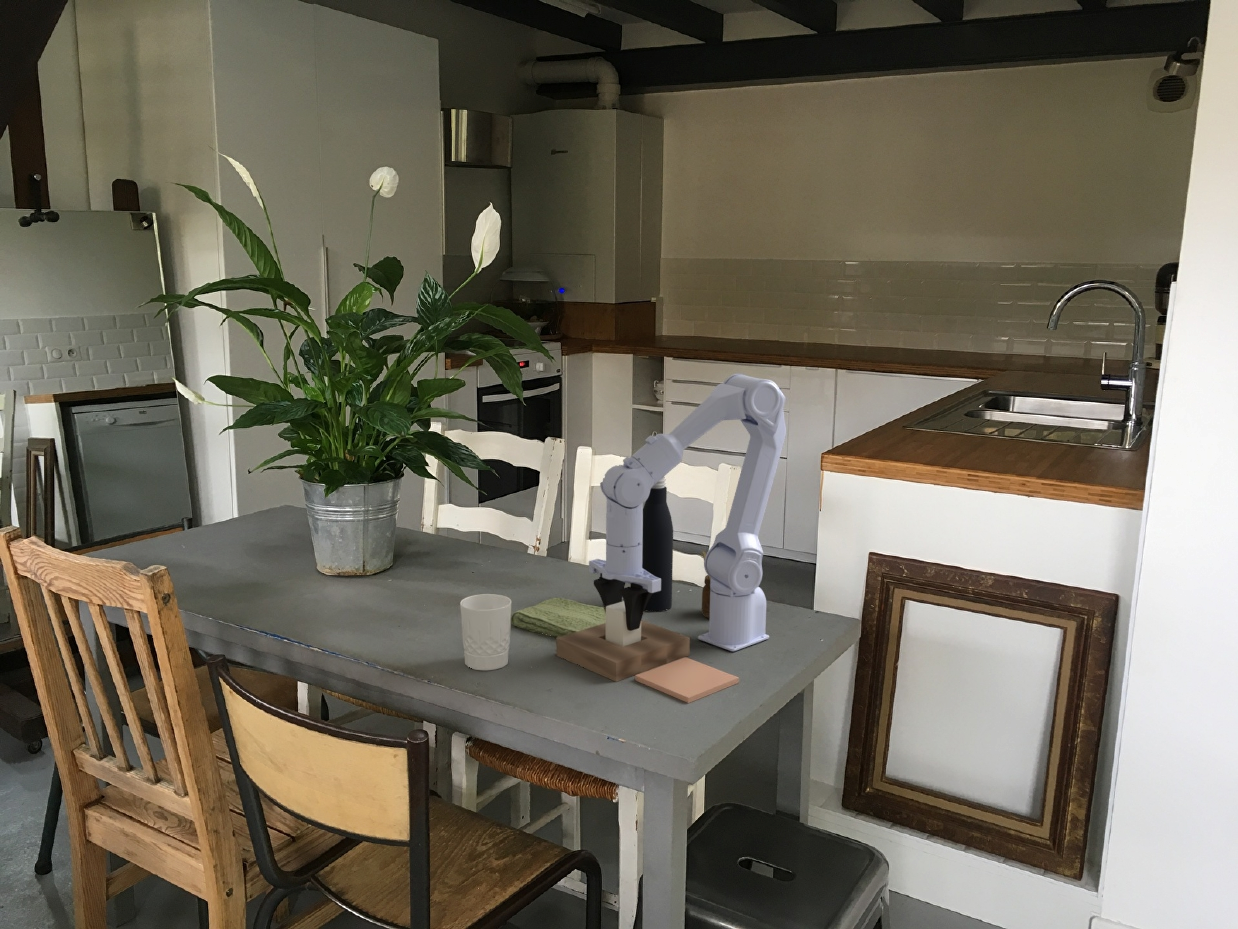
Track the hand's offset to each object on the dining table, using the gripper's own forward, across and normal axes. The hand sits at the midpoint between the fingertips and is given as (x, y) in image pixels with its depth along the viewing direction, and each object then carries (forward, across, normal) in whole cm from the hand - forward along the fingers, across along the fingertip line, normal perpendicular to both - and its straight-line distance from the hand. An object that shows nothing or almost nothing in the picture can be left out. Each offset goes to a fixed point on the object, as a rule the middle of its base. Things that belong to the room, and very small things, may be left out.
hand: (623, 625), depth 165 cm
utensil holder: (+5, -3, +26) cm, 27 cm away
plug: (+4, 0, 0) cm, 4 cm away
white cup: (+5, -12, -18) cm, 22 cm away
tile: (+5, +14, 0) cm, 15 cm away
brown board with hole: (+5, 0, 0) cm, 5 cm away
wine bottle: (+5, -14, +21) cm, 26 cm away
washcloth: (+6, -16, +3) cm, 17 cm away
